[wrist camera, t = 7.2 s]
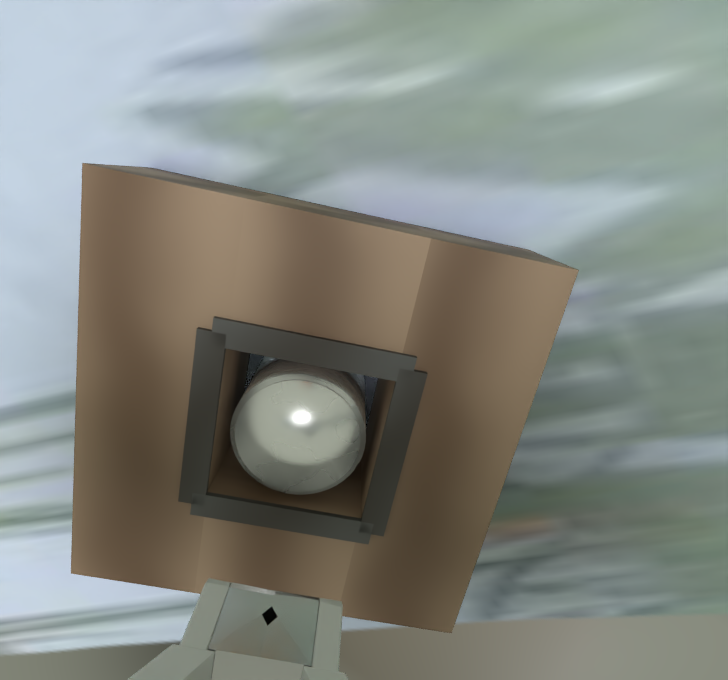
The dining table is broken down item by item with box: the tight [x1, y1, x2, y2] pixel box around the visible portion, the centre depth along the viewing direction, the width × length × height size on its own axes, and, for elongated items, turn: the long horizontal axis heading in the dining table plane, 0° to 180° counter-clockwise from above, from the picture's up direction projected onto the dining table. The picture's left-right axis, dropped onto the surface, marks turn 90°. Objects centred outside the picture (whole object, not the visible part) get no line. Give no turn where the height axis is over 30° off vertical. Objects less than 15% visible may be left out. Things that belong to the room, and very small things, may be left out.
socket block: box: [71, 163, 579, 633], centre depth 20 cm, size 16×16×5 cm
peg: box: [230, 356, 366, 495], centre depth 20 cm, size 5×5×5 cm
